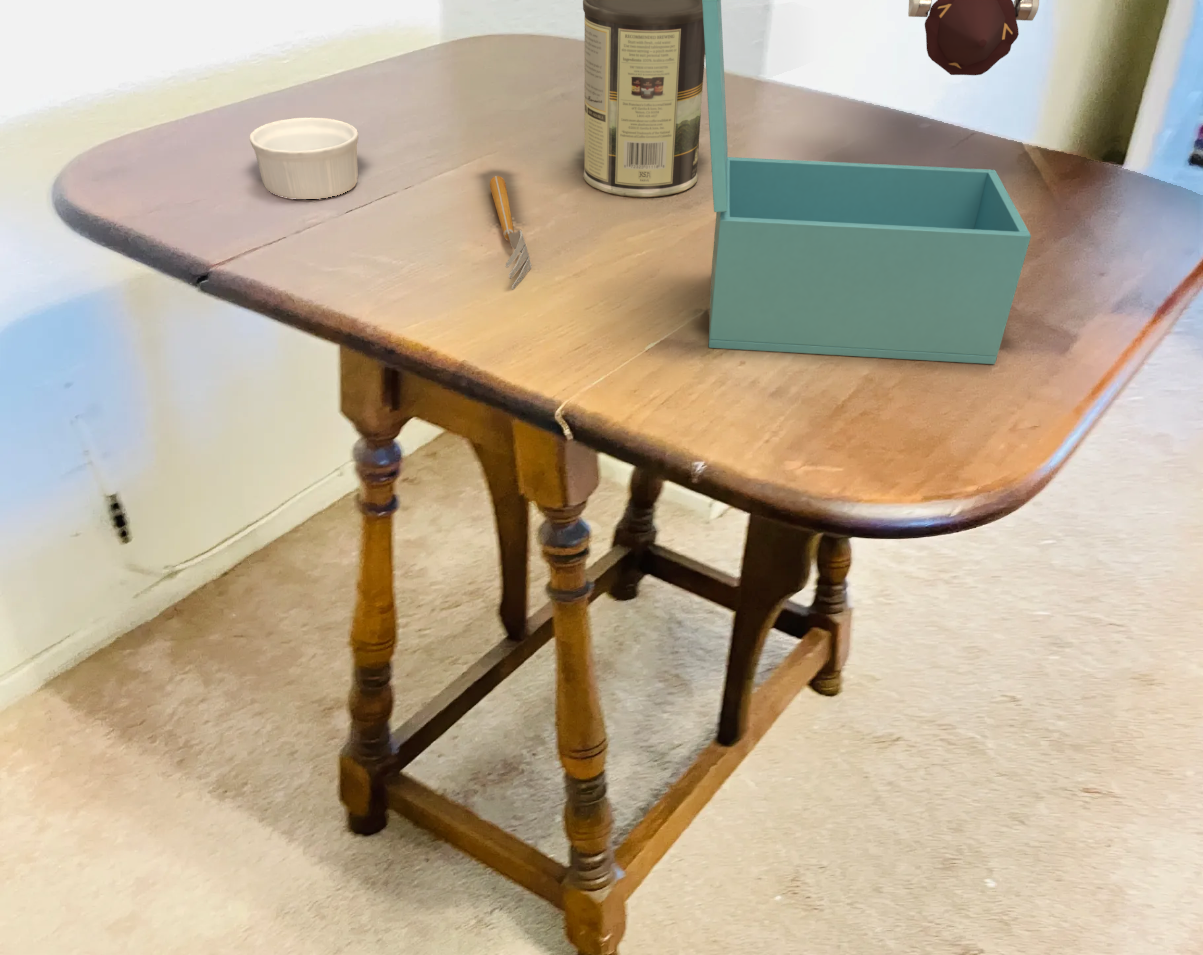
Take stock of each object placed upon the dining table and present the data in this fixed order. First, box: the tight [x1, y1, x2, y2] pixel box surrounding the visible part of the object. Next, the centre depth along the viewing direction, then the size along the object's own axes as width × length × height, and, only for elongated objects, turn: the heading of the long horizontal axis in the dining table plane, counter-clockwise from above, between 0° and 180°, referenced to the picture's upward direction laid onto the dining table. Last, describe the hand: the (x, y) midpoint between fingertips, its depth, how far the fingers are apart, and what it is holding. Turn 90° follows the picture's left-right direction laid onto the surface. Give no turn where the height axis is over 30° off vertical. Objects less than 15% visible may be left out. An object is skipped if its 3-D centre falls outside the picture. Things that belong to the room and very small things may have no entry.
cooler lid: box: [702, 0, 729, 213], centre depth 64 cm, size 19×12×1 cm
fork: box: [489, 175, 532, 290], centre depth 85 cm, size 2×2×20 cm
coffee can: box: [582, 0, 706, 198], centre depth 91 cm, size 10×10×14 cm
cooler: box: [708, 156, 1032, 365], centre depth 72 cm, size 19×12×9 cm, turn 85°
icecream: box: [924, 0, 1020, 76], centre depth 87 cm, size 7×7×15 cm
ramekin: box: [249, 117, 359, 200], centre depth 92 cm, size 9×9×4 cm
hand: (973, 14), depth 86 cm, fingers closed on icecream, 7 cm apart
